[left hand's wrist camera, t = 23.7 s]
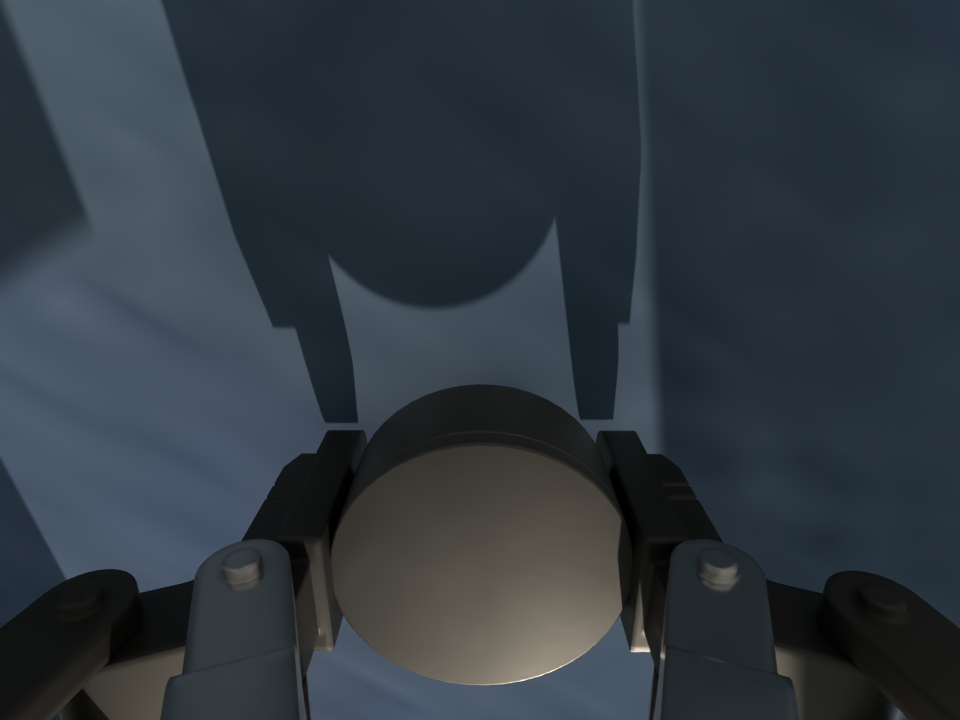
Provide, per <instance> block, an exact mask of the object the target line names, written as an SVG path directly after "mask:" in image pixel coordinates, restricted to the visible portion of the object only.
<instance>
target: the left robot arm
mask: <svg viewBox="0 0 960 720" xmlns="http://www.w3.org/2000/svg"><path fill="white" fill-rule="evenodd" d="M366 446H367V439H366V434H365V432H364V431H363V430H329V431H327V433H326V435H325V437H324V439H323V441H322V443H321V445H320V447H319V449H318V451H317V453H316V454H301V455H299V456H298V457H297V458H295V459H294V460H293V461H291V462H290V463H289V464H287V465H286V466H285V467H284V468H283V470H282V471H281V473H280V475H279V477H278V478H277V480H276V482H275V486H273V487H272V489H271V490H270V492H269V494H268V496H267V499H265V501H264V503H263V504H262V506H261V508H260V510H259V511H258V513H257V515H256V517H255V518H254V520H253V522H252V524H251V525H250V527H249V529H248V530H247V532H246V534H245V536H244V537H243V539H242V541H241V542H237V543H234V544H231V545H228V546H226V547H224V548H222V549H220V550H218V551H217V552H215V553H214V554H212V555H211V556H210V557H208V558H207V559H206V560H205V561H204V562H203V563H202V565H201V566H200V567H199V569H198V570H197V572H196V575H195V579H194V580H192V581H189V582H185V583H182V584H178V585H173V586H169V587H164V588H160V589H156V590H151V591H147V592H142V593H139V589H138V586H137V582H136V580H135V578H134V577H133V576H132V575H131V574H129V573H128V572H125V571H122V570H116V569H104V570H97V571H92V572H88V573H85V574H81V575H78V576H76V577H73V578H71V579H68V580H66V581H64V582H62V583H60V584H59V585H57V586H55V587H54V588H52V589H51V590H49V591H48V592H46V593H45V594H44V595H42V596H41V597H40V598H39V599H37V600H36V601H35V602H33V603H32V604H31V605H30V606H28V607H27V608H26V609H25V610H23V611H22V612H21V613H19V614H18V615H17V616H16V617H14V618H13V619H12V620H11V621H9V622H8V623H7V624H5V625H4V626H3V627H2V628H0V720H51V719H52V718H53V717H54V716H55V715H56V714H57V713H58V714H59V717H60V719H61V720H312V716H311V706H310V695H309V685H308V678H307V670H308V667H309V664H310V661H311V658H312V654H313V651H333V650H334V647H335V643H336V639H337V636H338V632H339V629H340V625H341V621H342V618H343V613H342V611H341V609H340V607H339V605H338V602H337V600H336V597H335V590H334V582H333V574H332V566H331V555H330V547H331V542H332V539H333V535H334V531H335V528H336V525H337V522H338V520H339V517H340V514H341V511H342V509H343V506H344V503H345V500H346V497H347V495H348V492H349V489H350V486H351V484H352V481H353V478H354V475H355V472H356V470H357V467H358V464H359V461H360V459H361V457H362V454H363V452H364V450H365V448H366ZM596 446H597V448H598V450H599V452H600V453H601V455H602V458H603V461H604V464H605V466H606V469H607V472H608V474H609V477H610V480H611V483H612V485H613V488H614V491H615V494H616V496H617V499H618V502H619V505H620V507H621V510H622V513H623V516H624V518H625V521H626V524H627V527H628V530H629V533H630V536H631V539H632V544H633V563H632V571H631V579H630V587H629V594H628V599H627V602H626V605H625V606H624V608H623V610H622V612H621V614H620V617H621V620H622V624H623V627H624V631H625V634H626V638H627V641H628V645H629V648H630V652H651V655H652V658H653V661H654V671H653V678H652V685H651V695H650V706H649V716H648V720H906V717H907V718H908V719H909V720H960V628H958V627H957V626H956V625H955V624H953V623H952V622H951V621H949V620H948V619H947V618H946V617H944V616H943V615H942V614H941V613H939V612H938V611H937V610H935V609H934V608H933V607H932V606H930V605H929V604H928V603H927V602H925V601H924V600H923V599H921V598H920V597H919V596H918V595H916V594H915V593H913V592H912V591H911V590H909V589H907V588H906V587H904V586H902V585H900V584H898V583H896V582H894V581H892V580H890V579H887V578H885V577H882V576H879V575H875V574H871V573H867V572H860V571H844V572H839V573H836V574H834V575H832V576H830V578H829V579H828V580H827V582H826V584H825V587H824V591H823V594H822V593H818V592H813V591H809V590H805V589H800V588H796V587H791V586H787V585H783V584H779V583H775V582H773V581H770V580H767V579H765V575H764V572H763V570H762V569H761V567H760V566H759V565H758V563H757V562H756V561H755V560H754V559H753V558H752V557H750V556H749V555H748V554H746V553H745V552H743V551H742V550H740V549H738V548H736V547H734V546H732V545H729V544H726V543H723V542H722V540H721V538H720V536H719V535H718V533H717V531H716V530H715V528H714V526H713V524H712V523H711V521H710V519H709V518H708V516H707V514H706V512H705V511H704V509H703V507H702V506H701V504H700V502H699V500H696V495H695V494H694V492H693V490H692V488H691V487H689V483H688V482H687V480H686V478H685V476H684V475H683V473H682V471H681V470H680V468H679V467H678V466H676V465H675V464H674V463H672V462H671V461H670V460H668V459H667V458H666V457H664V456H663V455H662V454H647V453H646V451H645V449H644V447H643V445H642V443H641V441H640V439H639V437H638V435H637V433H636V432H635V431H599V432H598V434H597V439H596Z"/></svg>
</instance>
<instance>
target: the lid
mask: <svg viewBox="0 0 960 720" xmlns="http://www.w3.org/2000/svg"><path fill="white" fill-rule="evenodd" d="M330 555H331V566H332V574H333V582H334V590H335V597H336V600H337V602H338V605H339V607H340V609H341V611H342V613H343V615H344V616H345V618H346V620H347V621H348V623H349V624H350V625H351V627H352V628H353V629H354V630H355V632H356V633H357V634H358V635H359V636H360V637H361V638H362V639H363V640H364V641H365V642H366V643H367V644H368V645H369V646H370V647H371V648H373V649H374V650H375V651H377V652H378V653H379V654H381V655H382V656H383V657H385V658H387V659H388V660H390V661H392V662H393V663H395V664H397V665H399V666H401V667H403V668H405V669H407V670H410V671H412V672H414V673H417V674H420V675H423V676H426V677H429V678H432V679H436V680H441V681H445V682H450V683H458V684H466V685H495V684H506V683H512V682H519V681H523V680H527V679H531V678H535V677H538V676H541V675H544V674H547V673H549V672H552V671H555V670H557V669H559V668H561V667H563V666H565V665H567V664H569V663H571V662H572V661H574V660H575V659H577V658H578V657H580V656H582V655H583V654H585V653H586V652H587V651H588V650H590V649H591V648H592V647H593V646H594V645H596V644H597V643H598V642H599V641H600V640H601V639H602V638H603V637H604V636H605V635H606V634H607V633H608V631H609V630H610V629H611V627H612V626H613V625H614V623H615V622H616V621H617V619H618V618H619V616H620V614H621V612H622V610H623V608H624V606H625V605H626V602H627V599H628V594H629V587H630V579H631V571H632V563H633V544H632V539H631V536H630V533H629V530H628V527H627V524H626V521H625V518H624V516H623V513H622V510H621V507H620V505H619V502H618V499H617V496H616V494H615V491H614V488H613V485H612V483H611V480H610V477H609V474H608V472H607V469H606V466H605V464H604V461H603V458H602V455H601V453H600V452H599V450H598V448H597V446H596V444H595V442H594V441H593V439H592V438H591V436H590V435H589V434H588V432H587V431H586V430H585V429H584V428H583V427H582V425H581V424H580V423H579V422H578V421H577V420H576V419H575V418H573V417H572V416H571V415H570V414H568V413H567V412H566V411H565V410H563V409H562V408H560V407H559V406H557V405H555V404H554V403H552V402H550V401H548V400H547V399H544V398H542V397H540V396H537V395H535V394H532V393H530V392H526V391H523V390H519V389H516V388H511V387H505V386H498V385H479V384H478V385H466V386H458V387H453V388H448V389H443V390H440V391H437V392H434V393H431V394H428V395H426V396H423V397H421V398H419V399H417V400H415V401H413V402H411V403H409V404H408V405H406V406H405V407H403V408H402V409H400V410H399V411H397V412H396V413H395V414H394V415H392V416H391V417H390V418H389V419H388V420H387V421H386V422H384V423H383V425H382V426H381V427H380V428H379V429H378V430H377V432H376V433H375V434H374V435H373V437H372V438H371V440H370V441H369V443H368V444H367V446H366V448H365V450H364V452H363V454H362V457H361V459H360V461H359V464H358V467H357V470H356V472H355V475H354V478H353V481H352V484H351V486H350V489H349V492H348V495H347V497H346V500H345V503H344V506H343V509H342V511H341V514H340V517H339V520H338V522H337V525H336V528H335V531H334V535H333V539H332V542H331V547H330Z"/></svg>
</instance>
